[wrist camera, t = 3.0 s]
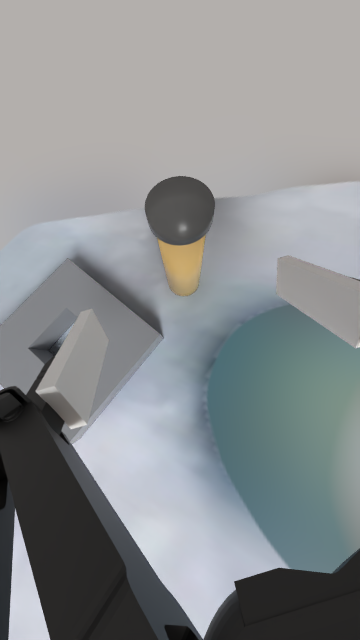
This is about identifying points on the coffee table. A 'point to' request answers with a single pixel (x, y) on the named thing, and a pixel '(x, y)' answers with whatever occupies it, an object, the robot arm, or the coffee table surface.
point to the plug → (181, 228)
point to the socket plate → (53, 321)
